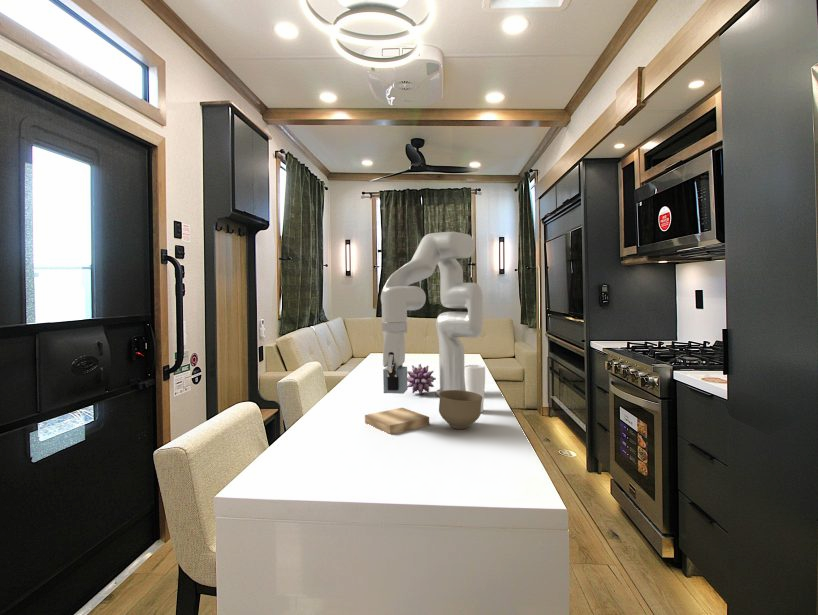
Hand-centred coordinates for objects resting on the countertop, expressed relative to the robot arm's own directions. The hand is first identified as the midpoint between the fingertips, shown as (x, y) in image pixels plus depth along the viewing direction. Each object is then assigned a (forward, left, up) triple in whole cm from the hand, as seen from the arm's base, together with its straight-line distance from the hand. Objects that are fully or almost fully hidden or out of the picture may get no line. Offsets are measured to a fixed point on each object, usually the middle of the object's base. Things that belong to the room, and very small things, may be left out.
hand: (395, 387), depth 138 cm
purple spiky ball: (-28, -27, -12) cm, 40 cm away
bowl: (-13, +14, -11) cm, 23 cm away
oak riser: (0, 0, -12) cm, 12 cm away
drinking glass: (-28, +4, -11) cm, 31 cm away
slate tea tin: (0, 0, -1) cm, 1 cm away
